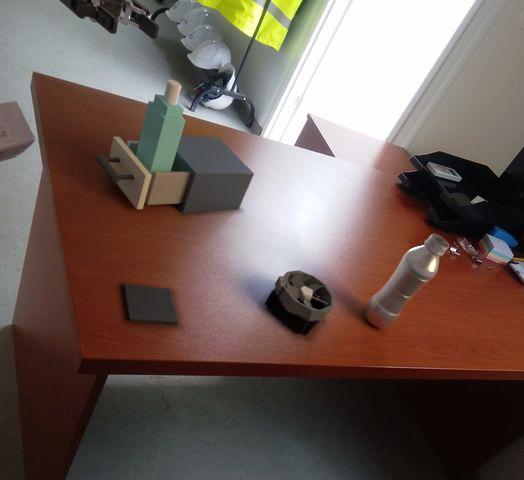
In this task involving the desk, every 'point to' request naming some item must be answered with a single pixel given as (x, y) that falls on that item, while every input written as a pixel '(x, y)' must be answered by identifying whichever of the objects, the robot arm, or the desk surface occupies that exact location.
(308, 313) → the cpu cooler
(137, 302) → the mat
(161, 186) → the drawer
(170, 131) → the soap bottle
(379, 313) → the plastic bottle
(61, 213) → the desk surface
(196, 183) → the cabinet
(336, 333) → the desk surface
